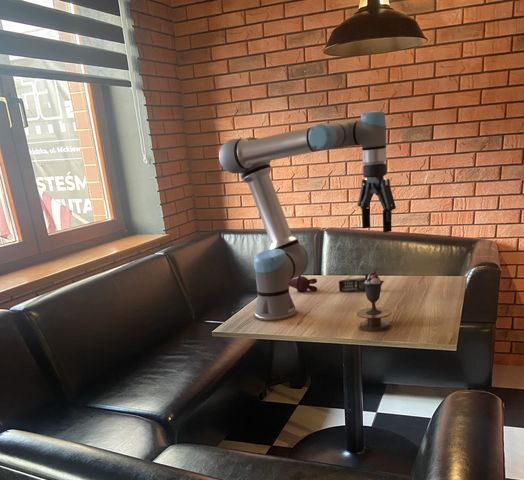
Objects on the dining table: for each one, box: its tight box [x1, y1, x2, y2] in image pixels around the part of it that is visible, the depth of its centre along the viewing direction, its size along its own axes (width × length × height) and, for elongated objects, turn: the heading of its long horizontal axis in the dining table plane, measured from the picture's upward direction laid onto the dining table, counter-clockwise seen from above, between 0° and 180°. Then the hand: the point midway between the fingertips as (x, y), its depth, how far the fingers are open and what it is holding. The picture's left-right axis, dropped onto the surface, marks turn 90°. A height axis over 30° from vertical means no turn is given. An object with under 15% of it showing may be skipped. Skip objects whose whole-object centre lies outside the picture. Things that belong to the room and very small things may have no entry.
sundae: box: [362, 266, 385, 315], centre depth 171 cm, size 7×7×15 cm
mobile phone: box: [338, 277, 366, 293], centre depth 219 cm, size 5×3×15 cm
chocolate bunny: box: [288, 275, 318, 293], centre depth 227 cm, size 7×7×15 cm
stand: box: [356, 307, 392, 333], centre depth 174 cm, size 11×11×5 cm
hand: (376, 229), depth 180 cm, fingers open, 13 cm apart
